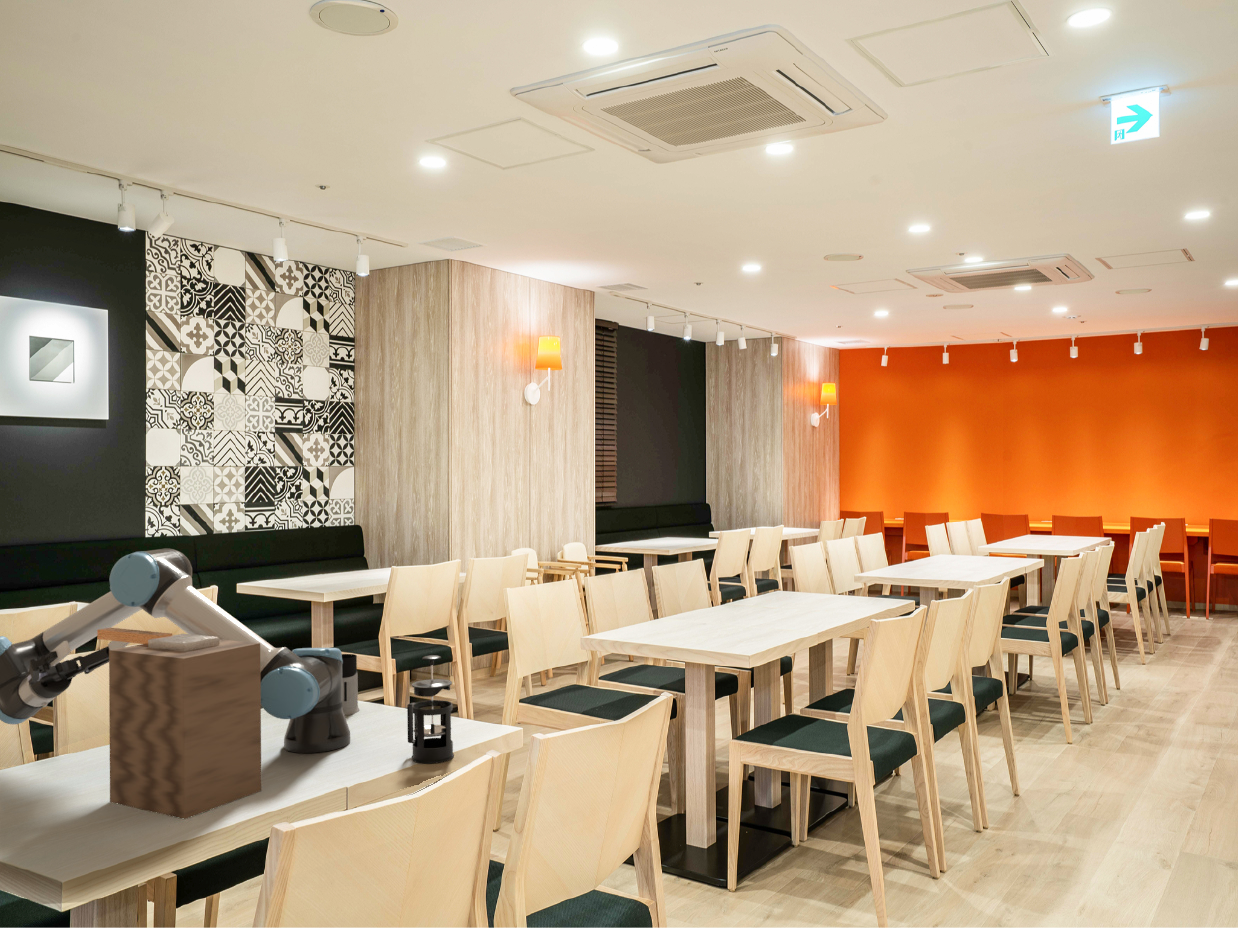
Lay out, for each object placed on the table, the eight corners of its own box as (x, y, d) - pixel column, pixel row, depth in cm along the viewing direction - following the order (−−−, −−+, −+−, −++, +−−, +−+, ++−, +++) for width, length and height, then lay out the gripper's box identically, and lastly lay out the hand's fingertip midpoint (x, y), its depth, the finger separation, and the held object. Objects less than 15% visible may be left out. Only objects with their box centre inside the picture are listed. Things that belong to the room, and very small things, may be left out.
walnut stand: (109, 801, 188) (109, 649, 189) (188, 776, 204) (187, 636, 205) (184, 819, 178) (183, 658, 179) (261, 790, 194) (260, 643, 195)
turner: (86, 640, 200) (86, 631, 200) (121, 635, 207) (121, 625, 207) (185, 651, 186) (185, 641, 186) (219, 645, 193) (219, 635, 193)
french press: (464, 754, 218) (463, 653, 218) (439, 766, 209) (438, 661, 209) (422, 749, 223) (421, 650, 223) (396, 760, 214) (395, 657, 214)
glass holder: (362, 707, 265) (362, 653, 265) (350, 720, 251) (349, 663, 251) (331, 707, 264) (330, 653, 265) (316, 720, 250) (315, 663, 250)
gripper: (104, 687, 223) (156, 647, 215) (-8, 711, 201) (45, 667, 193) (94, 658, 225) (145, 618, 216) (-18, 678, 203) (34, 634, 194)
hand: (98, 641), depth 204 cm, fingers open, 13 cm apart
